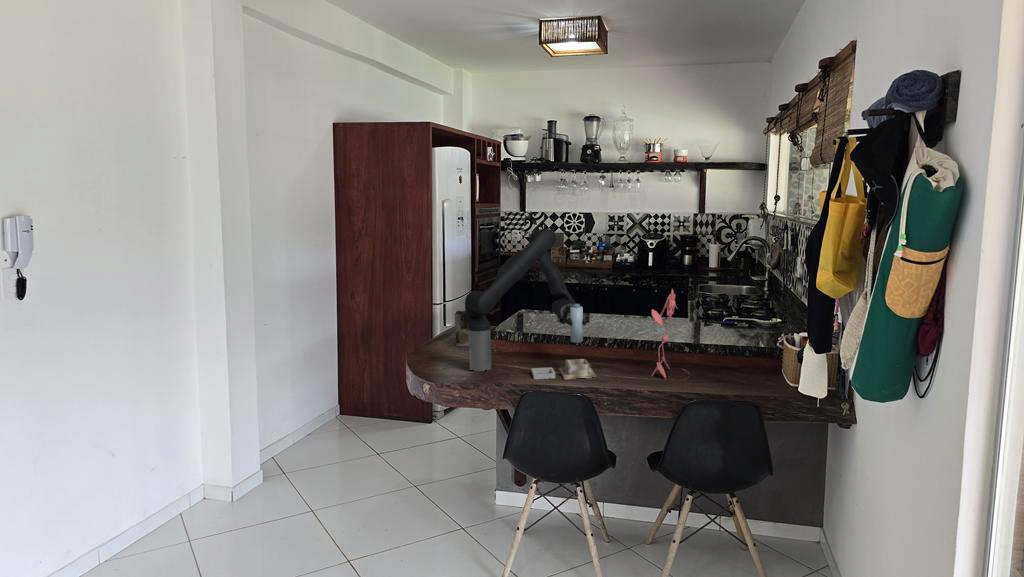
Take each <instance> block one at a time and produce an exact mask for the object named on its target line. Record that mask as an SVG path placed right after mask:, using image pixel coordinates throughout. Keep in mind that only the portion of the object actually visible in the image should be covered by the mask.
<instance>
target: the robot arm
mask: <svg viewBox="0 0 1024 577" xmlns="http://www.w3.org/2000/svg"><path fill="white" fill-rule="evenodd" d="M528 238H529V239H528V240H529V244H528V245H526V246H525V247H524V248H523V249H521V250H519V251H517V252H516V253H514V255H512V256H511V257H509V258H508V259H507V260H506V261H505V262H504V263H503V264H501V266H500V267H499V269H498V271H497V274H496V277H495V279H494V281H493V282H492V284H491V285H490V286H489V287H488V288H486V290H484V291H479V290H471V291H469V292H468V293H467V295H466V296H465V300H464V311H465V313H466V322H467V324H468V332H469V346H468V361H469V362H468V363H469V364H468V366H469V367H468V368H469V371H470V370H474V371H473V372H486V371H485V370H487V371H490V370H491V369H492V345H491V344H492V343H491V341H492V340H491V322H490V321H489V320H488V319H487V317H486V316H485V315H486V314H488V313H490V312H491V311H492V309H494V307H495V306H496V305H497V304H498V302H499V301H500V300H501V298H502V297H503V296H504V295H505V294H506V293H507V292H508V291H509V290H510V289H511V287H512V286H514V284H515V283H517V281H518V280H520V279H521V278H522V277H523V275H524V274H525V273H526V272H527V271H528V270H529V269H530V268H531V267H532V266H533V265H534V264H535V263H536V261H538V263H539V264H540V267H541V269H542V271H543V274H544V276H545V279H546V281H547V285H548V288H549V291H550V293H551V295H552V296H564V297H563V298H560V299H557V300H555V301H554V302H552V303H551V304H552V305H551V310H552V312H553V314H554V316H556V317H557V322H558V323H559V324H562V325H565V324H567V325H568V326H569V327H570V326H572V320H571V319H570V307H572V306H573V304H577V303H576V302H575V299H573V297H572V295H571V294H570V293H569V291H568V289H567V286H566V283H565V280H564V278H563V274H562V272H561V271H560V269H559V268H558V267H557V265H556V264H555V263H554V260H553V259H552V258H551V256H550V253H549V250H550V249H552V247H554V245H555V243H556V239H557V237H556V233H555V232H554V230H553V229H552V228H541V229H537V230H533V231H532V232H531V233H530V235H529V237H528ZM590 316H591V314H590V313H586V314H585V315H583V326H586V325H587V324H590V321H591V320H590V318H591V317H590Z"/></svg>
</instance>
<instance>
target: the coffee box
mask: <svg viewBox="0 0 1024 577" xmlns="http://www.w3.org/2000/svg"><path fill="white" fill-rule="evenodd" d="M454 323H455V324H454V330H455V346H456V347H469V332H468V324H467V322H466V313H465V310H457V311H456V312H455V313H454Z"/></svg>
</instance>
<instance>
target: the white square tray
mask: <svg viewBox="0 0 1024 577" xmlns="http://www.w3.org/2000/svg"><path fill="white" fill-rule="evenodd" d="M550 372H551V373H550ZM531 375H532V378H533V380H544V379H546V380H547V379H549V378H550V379H556V372H555V370H554V368H553V367H536V368H533V367H532V368H531ZM550 379H549V380H550Z"/></svg>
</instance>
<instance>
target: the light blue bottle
mask: <svg viewBox="0 0 1024 577" xmlns="http://www.w3.org/2000/svg"><path fill="white" fill-rule="evenodd" d="M583 311H584V310H583V306H581V304H580V303H576V304H573V306H572V307H570V319H571V320H572V326H570V325H569V327H570V342H572V343H577V344H579V343H582V342H583V341H584V325H583V316H584V312H583Z"/></svg>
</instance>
